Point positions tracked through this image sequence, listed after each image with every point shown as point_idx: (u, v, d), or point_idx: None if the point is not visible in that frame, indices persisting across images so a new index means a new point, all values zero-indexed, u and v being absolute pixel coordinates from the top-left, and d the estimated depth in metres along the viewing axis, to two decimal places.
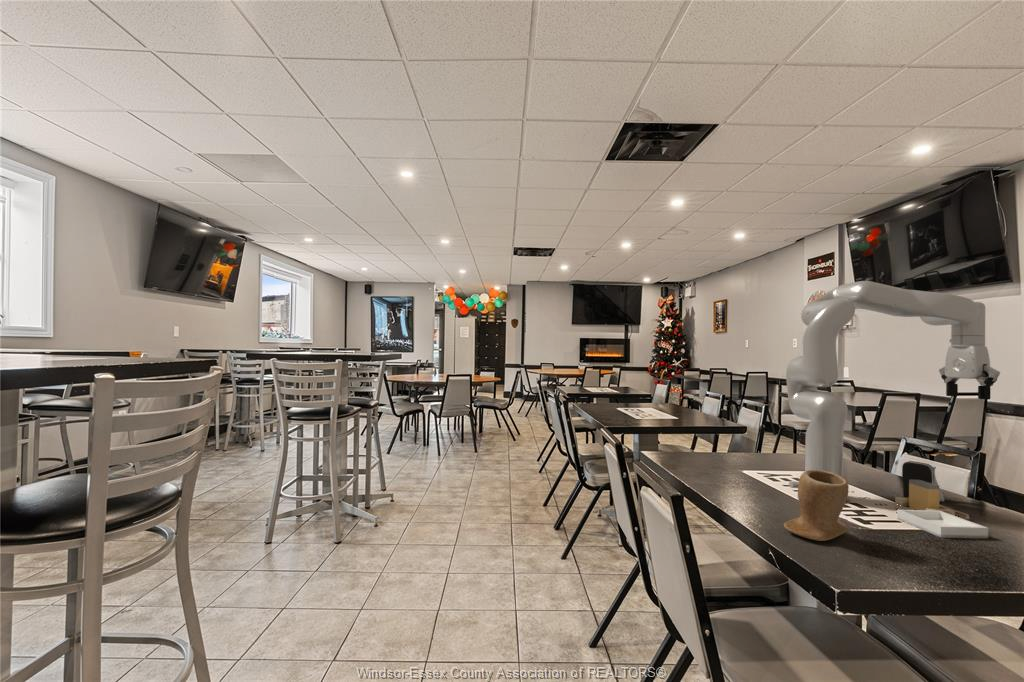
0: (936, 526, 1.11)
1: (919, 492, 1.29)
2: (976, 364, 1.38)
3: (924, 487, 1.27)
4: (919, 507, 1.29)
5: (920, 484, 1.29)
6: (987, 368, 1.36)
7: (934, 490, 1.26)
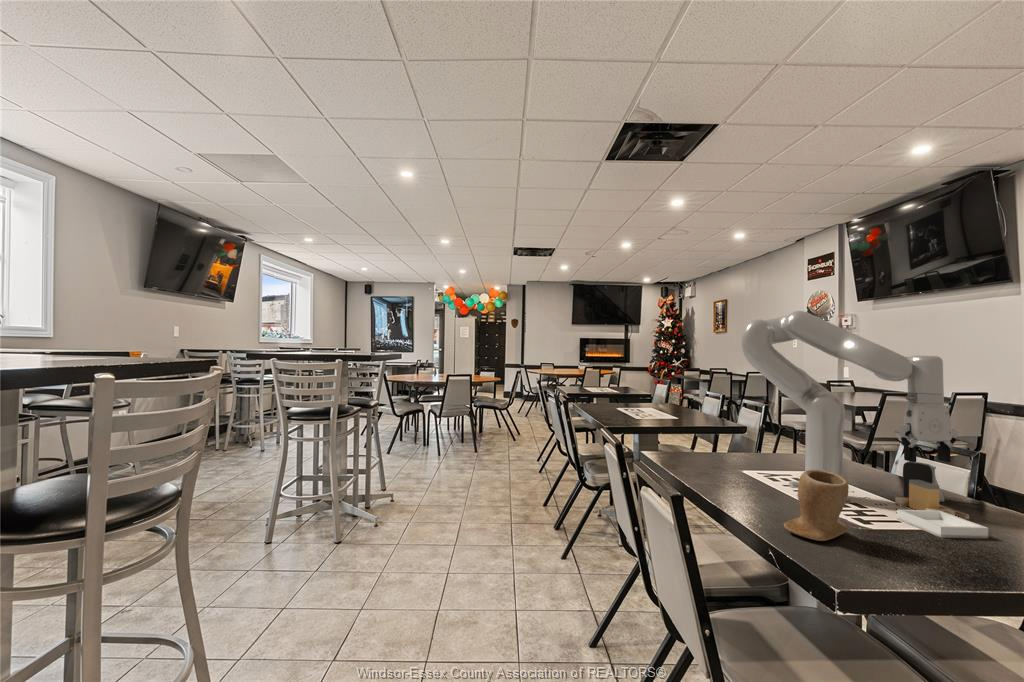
0: (936, 526, 1.11)
1: (919, 492, 1.29)
2: (950, 425, 1.27)
3: (924, 487, 1.27)
4: (919, 507, 1.29)
5: (920, 484, 1.29)
6: None
7: (934, 490, 1.26)
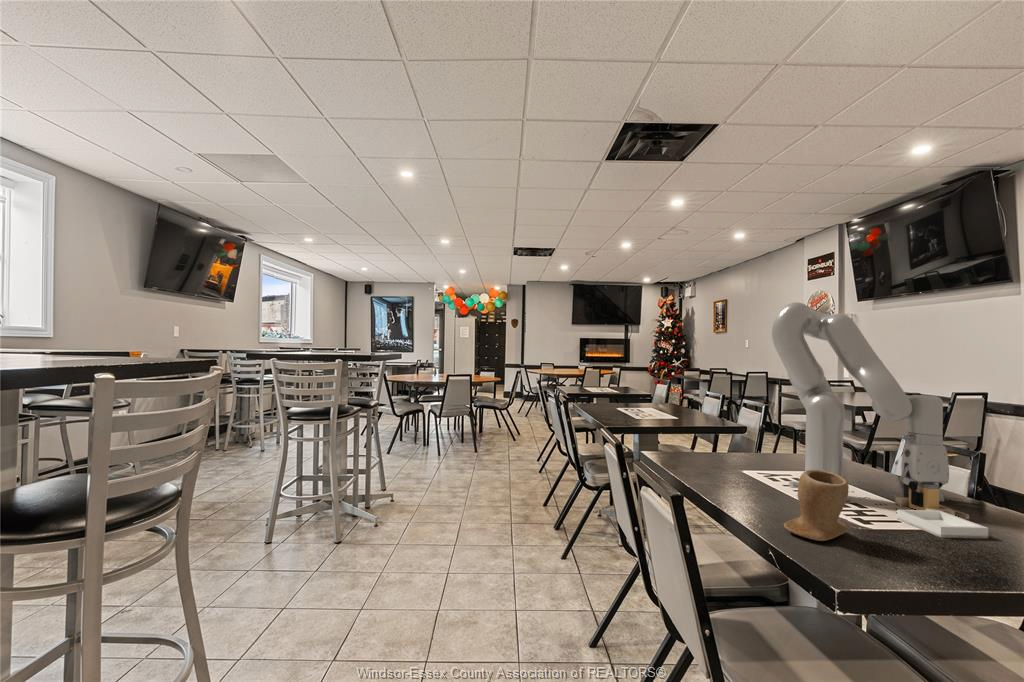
0: (936, 526, 1.11)
1: None
2: None
3: (924, 487, 1.27)
4: (919, 507, 1.29)
5: None
6: None
7: (934, 490, 1.26)
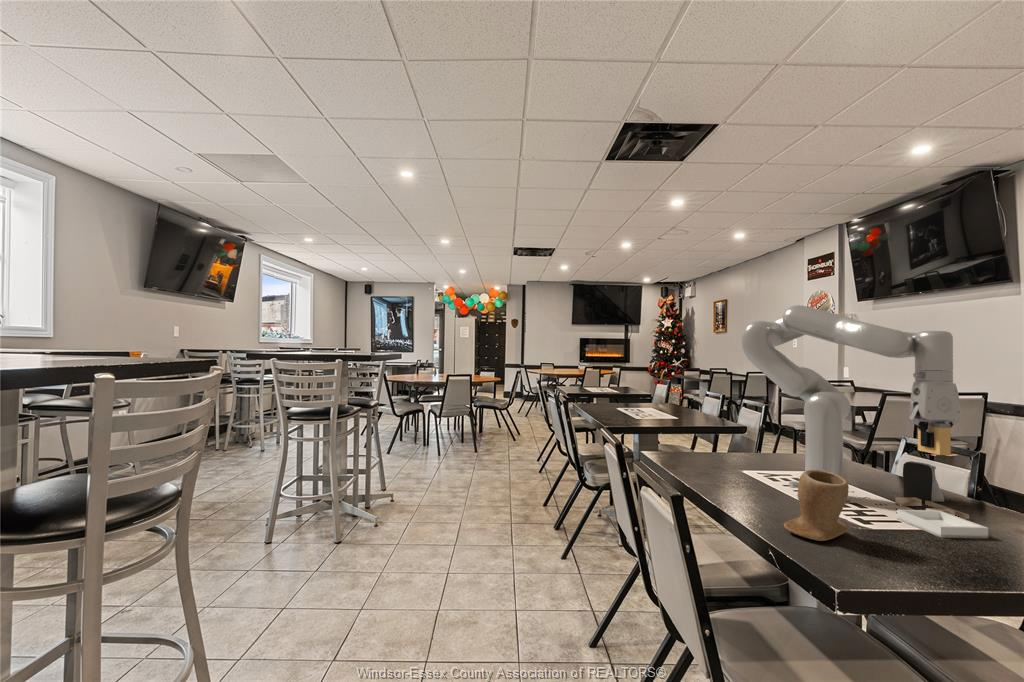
0: (936, 526, 1.11)
1: None
2: None
3: (935, 426, 1.21)
4: (930, 448, 1.22)
5: None
6: None
7: (945, 429, 1.20)
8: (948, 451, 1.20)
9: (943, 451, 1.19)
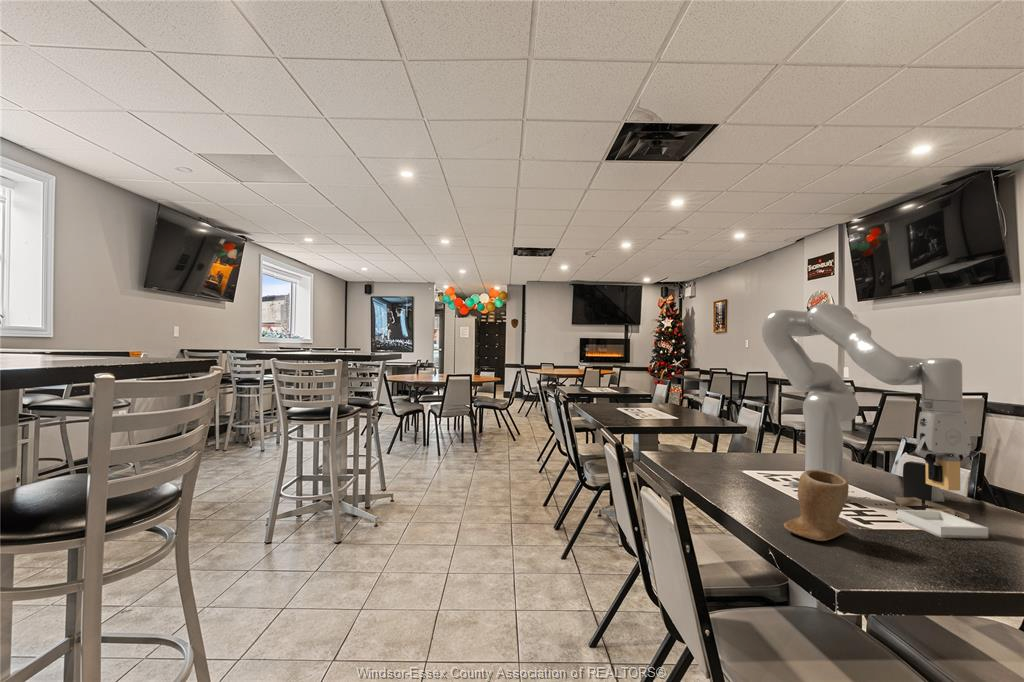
0: (936, 526, 1.11)
1: None
2: (969, 436, 1.14)
3: (943, 459, 1.14)
4: (938, 482, 1.15)
5: None
6: None
7: (954, 462, 1.13)
8: (957, 487, 1.13)
9: (952, 486, 1.13)
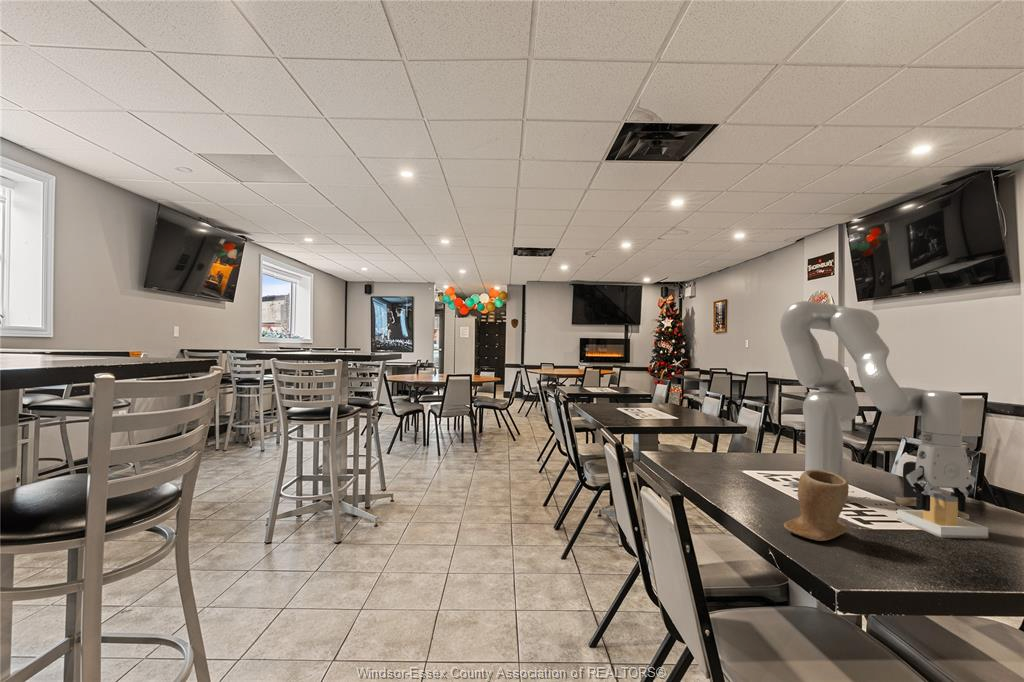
0: (936, 526, 1.11)
1: (934, 504, 1.16)
2: (968, 470, 1.14)
3: (941, 499, 1.14)
4: (935, 522, 1.15)
5: (936, 496, 1.15)
6: None
7: (952, 502, 1.13)
8: None
9: None
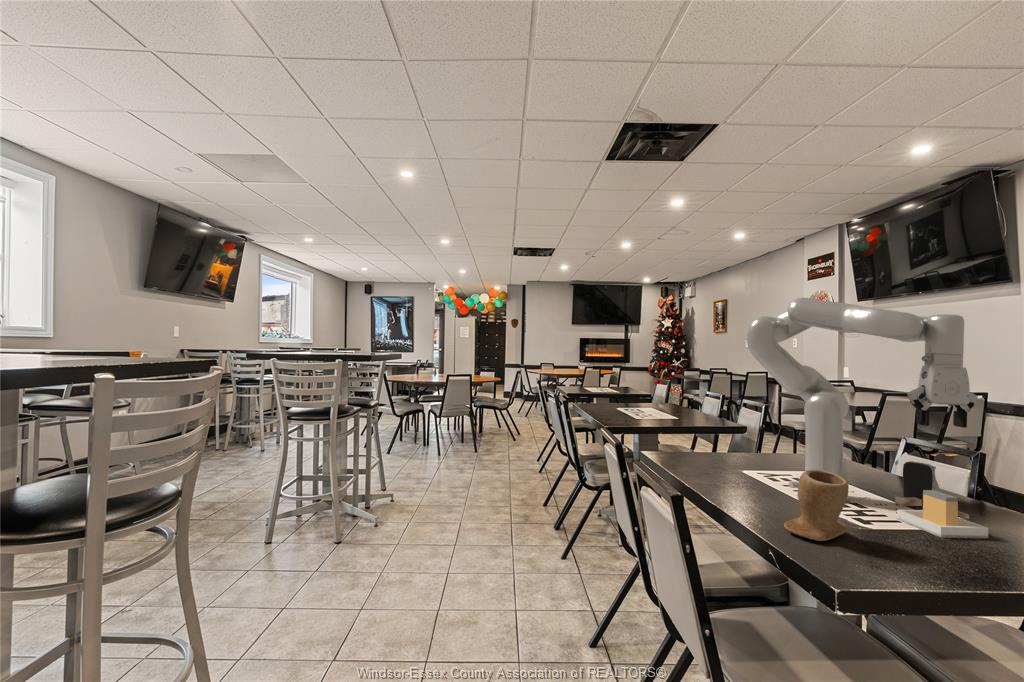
0: (936, 526, 1.11)
1: (934, 504, 1.16)
2: None
3: (941, 499, 1.14)
4: (935, 522, 1.15)
5: (936, 496, 1.15)
6: None
7: (952, 502, 1.13)
8: None
9: None
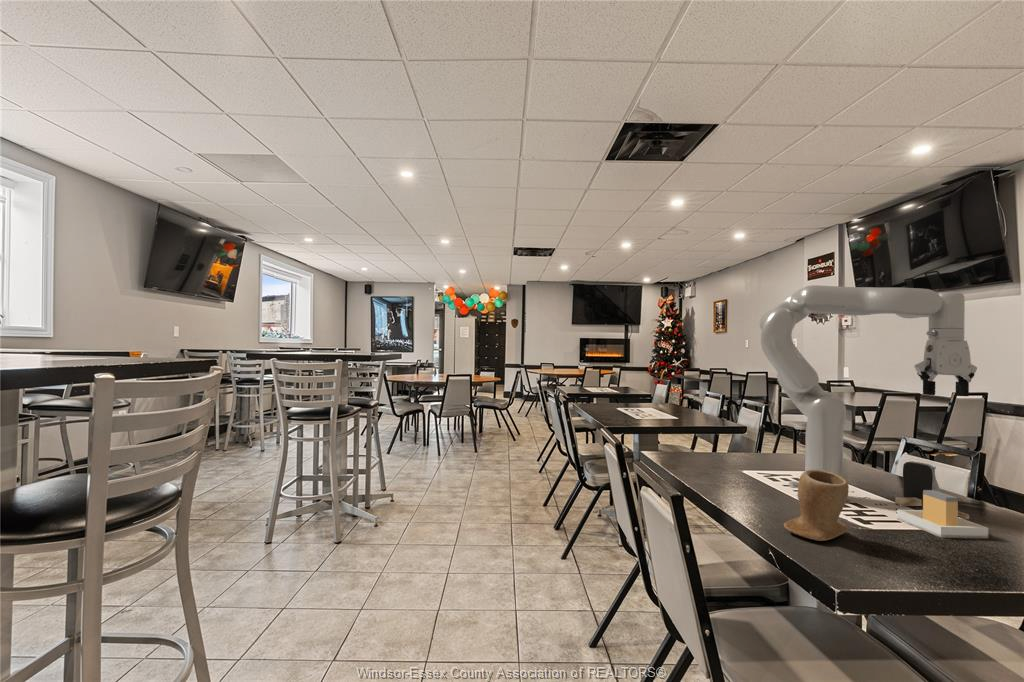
0: (936, 526, 1.11)
1: (934, 504, 1.16)
2: None
3: (941, 499, 1.14)
4: (935, 522, 1.15)
5: (936, 496, 1.15)
6: None
7: (952, 502, 1.13)
8: None
9: None
